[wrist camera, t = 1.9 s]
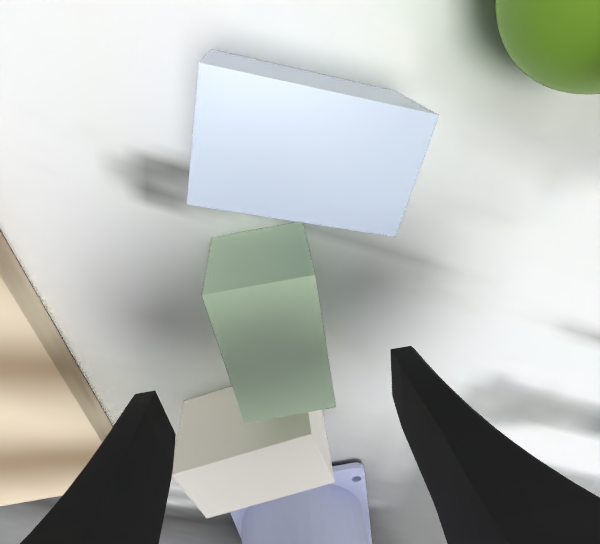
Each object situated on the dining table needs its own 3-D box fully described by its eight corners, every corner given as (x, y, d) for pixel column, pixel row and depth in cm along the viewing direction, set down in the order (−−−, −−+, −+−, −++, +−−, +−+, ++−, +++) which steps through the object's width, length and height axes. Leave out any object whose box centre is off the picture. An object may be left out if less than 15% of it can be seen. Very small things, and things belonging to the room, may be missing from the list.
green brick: (321, 338, 20) (335, 407, 16) (245, 351, 20) (244, 423, 16) (302, 219, 16) (315, 274, 13) (212, 235, 16) (201, 295, 13)
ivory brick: (301, 362, 20) (311, 434, 17) (322, 409, 22) (334, 482, 19) (183, 399, 21) (170, 475, 17) (213, 441, 23) (206, 518, 19)
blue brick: (394, 90, 14) (439, 115, 11) (364, 188, 16) (395, 237, 13) (211, 49, 13) (199, 62, 10) (201, 160, 15) (186, 204, 11)
